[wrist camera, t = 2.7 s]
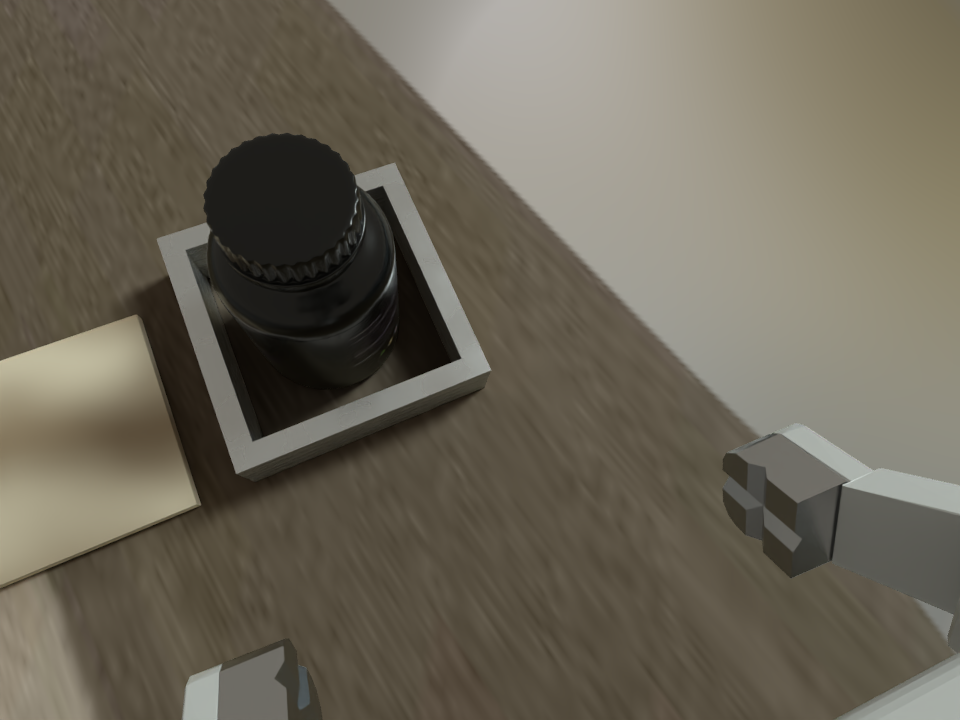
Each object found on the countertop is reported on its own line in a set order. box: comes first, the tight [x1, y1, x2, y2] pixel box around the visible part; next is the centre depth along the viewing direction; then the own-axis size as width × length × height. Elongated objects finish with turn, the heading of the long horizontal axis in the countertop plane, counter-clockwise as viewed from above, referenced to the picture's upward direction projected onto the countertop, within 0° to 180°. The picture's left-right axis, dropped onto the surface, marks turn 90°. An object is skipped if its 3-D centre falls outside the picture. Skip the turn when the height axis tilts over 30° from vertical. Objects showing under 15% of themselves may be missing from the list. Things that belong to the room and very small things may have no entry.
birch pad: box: [0, 315, 201, 588], centre depth 27 cm, size 10×10×1 cm
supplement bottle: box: [204, 133, 399, 389], centre depth 25 cm, size 7×7×12 cm
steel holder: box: [157, 163, 491, 482], centre depth 29 cm, size 12×12×3 cm
